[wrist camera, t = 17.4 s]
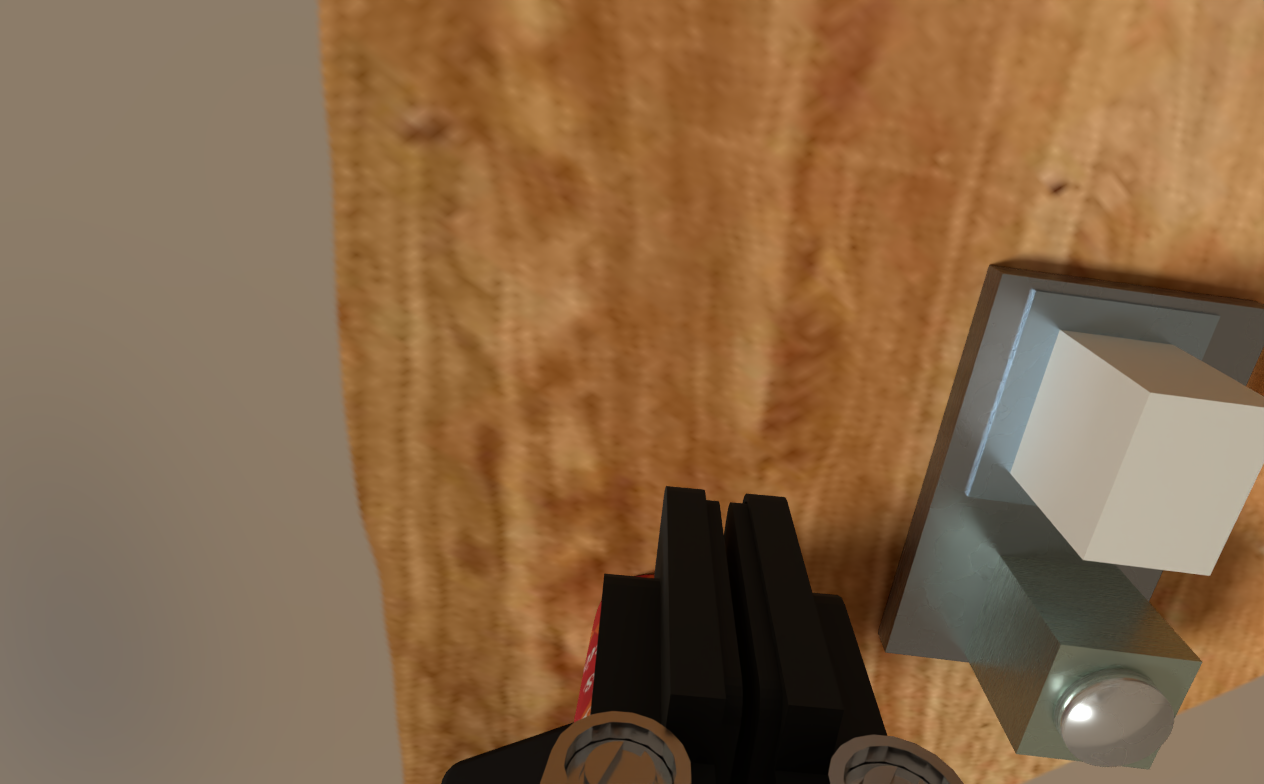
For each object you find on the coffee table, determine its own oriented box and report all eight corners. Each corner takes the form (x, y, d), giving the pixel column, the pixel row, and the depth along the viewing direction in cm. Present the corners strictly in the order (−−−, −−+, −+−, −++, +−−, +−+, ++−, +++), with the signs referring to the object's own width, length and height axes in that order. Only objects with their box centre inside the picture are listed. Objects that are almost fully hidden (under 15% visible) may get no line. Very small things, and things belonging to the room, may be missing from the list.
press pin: (1023, 589, 39) (1085, 679, 34) (1114, 601, 39) (1190, 692, 34) (995, 663, 41) (1049, 760, 35) (1083, 674, 41) (1150, 772, 35)
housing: (1059, 329, 36) (1150, 392, 29) (1173, 344, 36) (1288, 410, 29) (1010, 473, 38) (1082, 559, 32) (1115, 486, 38) (1210, 575, 32)
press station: (989, 265, 36) (1075, 321, 29) (1255, 300, 37) (1408, 365, 29) (877, 633, 44) (923, 751, 37) (1099, 660, 44) (1188, 783, 37)
